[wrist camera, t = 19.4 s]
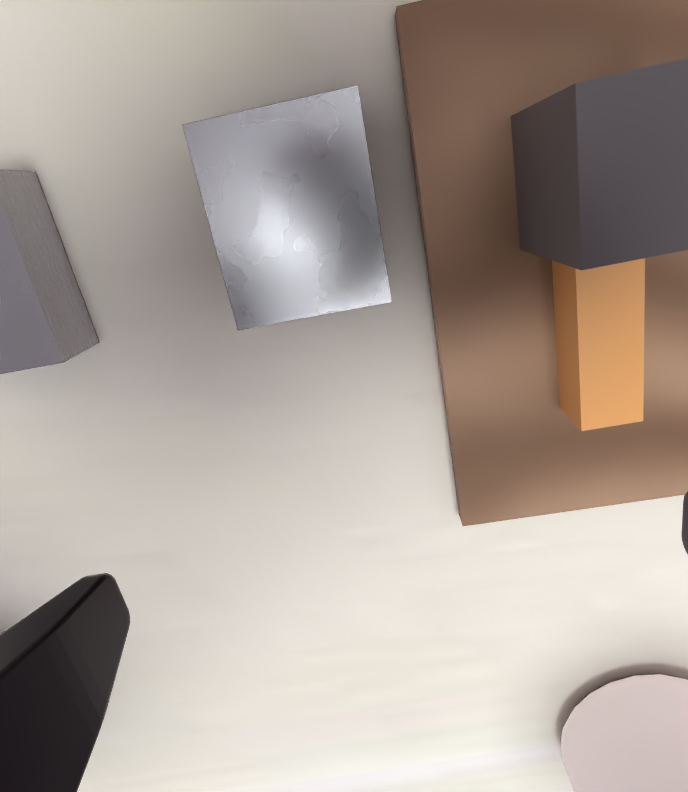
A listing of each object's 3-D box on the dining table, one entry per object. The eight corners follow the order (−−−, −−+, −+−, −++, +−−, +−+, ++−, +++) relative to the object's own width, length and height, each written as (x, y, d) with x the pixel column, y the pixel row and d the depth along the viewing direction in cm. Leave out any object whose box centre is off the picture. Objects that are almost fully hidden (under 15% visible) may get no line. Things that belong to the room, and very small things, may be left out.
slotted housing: (387, 287, 18) (391, 302, 16) (-23, 364, 20) (-73, 387, 18) (357, 100, 16) (357, 85, 14) (-100, 201, 18) (-169, 202, 15)
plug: (643, 393, 19) (737, 459, 14) (532, 412, 19) (588, 482, 15) (646, 85, 15) (773, 38, 11) (510, 116, 16) (575, 83, 11)
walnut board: (705, 479, 21) (718, 489, 20) (459, 514, 22) (462, 526, 21) (744, -67, 15) (765, -81, 14) (394, 15, 15) (396, 6, 15)
